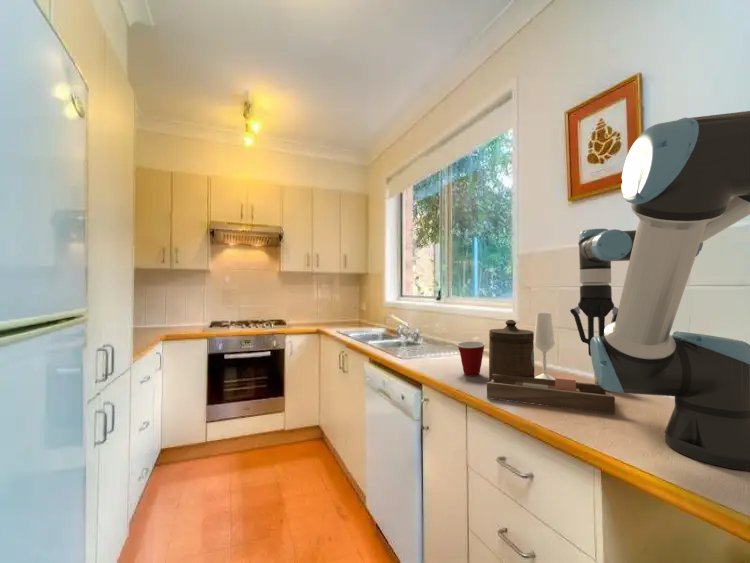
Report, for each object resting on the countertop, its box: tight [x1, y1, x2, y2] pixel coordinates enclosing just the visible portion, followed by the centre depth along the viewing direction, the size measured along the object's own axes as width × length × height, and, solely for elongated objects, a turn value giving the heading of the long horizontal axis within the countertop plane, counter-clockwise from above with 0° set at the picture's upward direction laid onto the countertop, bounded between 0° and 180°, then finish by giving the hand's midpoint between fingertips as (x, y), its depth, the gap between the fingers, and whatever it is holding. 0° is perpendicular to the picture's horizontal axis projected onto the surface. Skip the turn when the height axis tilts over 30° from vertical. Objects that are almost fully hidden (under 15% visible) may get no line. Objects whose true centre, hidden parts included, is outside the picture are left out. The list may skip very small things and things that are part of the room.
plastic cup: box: [456, 340, 486, 377], centre depth 133 cm, size 11×11×12 cm
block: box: [554, 374, 577, 392], centre depth 100 cm, size 5×5×4 cm
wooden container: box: [488, 319, 535, 382], centre depth 121 cm, size 15×15×22 cm
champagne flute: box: [533, 311, 555, 380], centre depth 126 cm, size 7×7×24 cm
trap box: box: [486, 374, 616, 415], centre depth 102 cm, size 12×32×4 cm, turn 63°
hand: (596, 368), depth 96 cm, fingers closed
